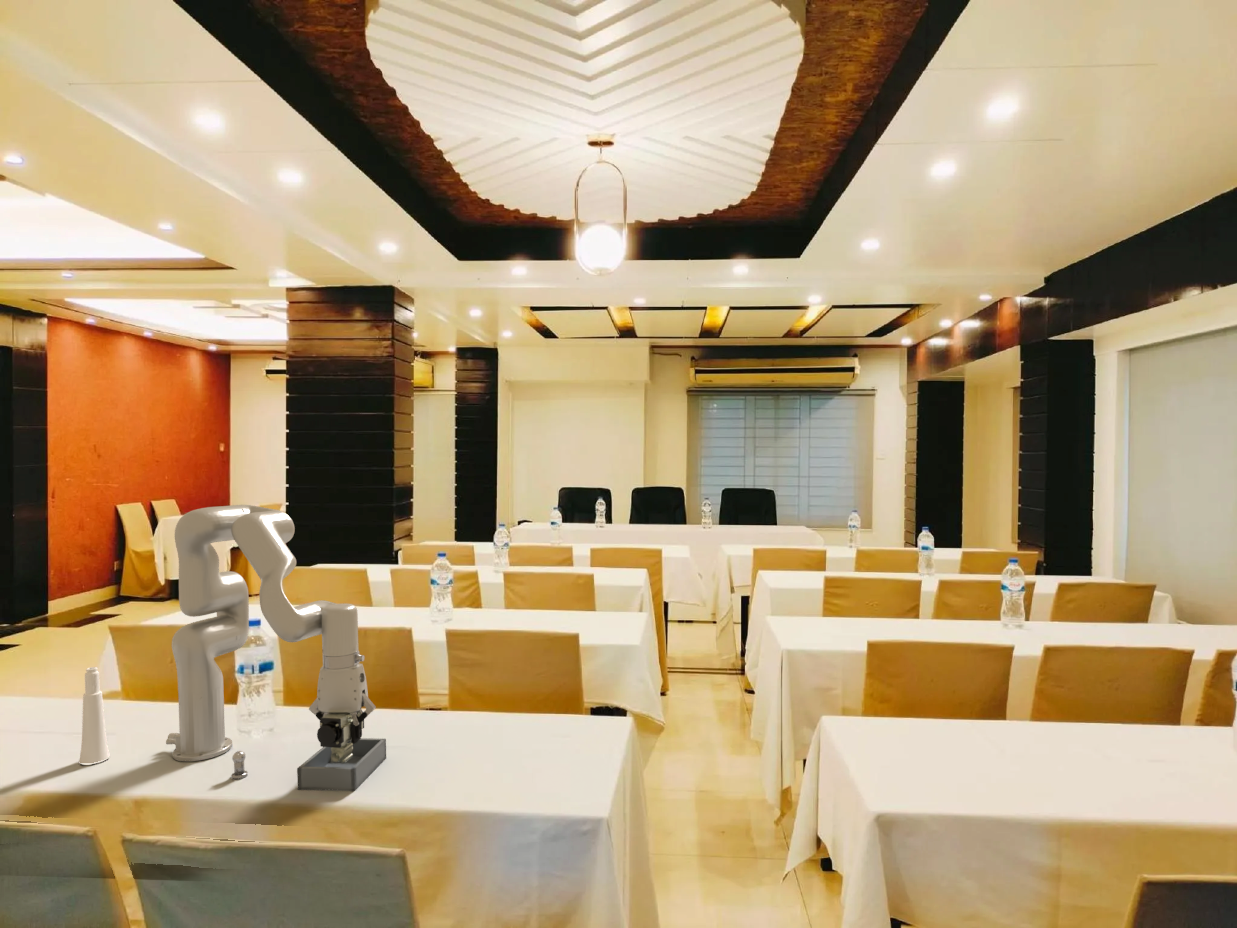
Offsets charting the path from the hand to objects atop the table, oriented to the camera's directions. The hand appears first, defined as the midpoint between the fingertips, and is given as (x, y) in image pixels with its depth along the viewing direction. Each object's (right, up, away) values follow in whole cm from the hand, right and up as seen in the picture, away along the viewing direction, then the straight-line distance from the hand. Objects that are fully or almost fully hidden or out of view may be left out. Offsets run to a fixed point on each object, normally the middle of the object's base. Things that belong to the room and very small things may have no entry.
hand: (343, 740), depth 164 cm
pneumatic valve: (0, -5, 0) cm, 5 cm away
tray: (0, -7, 0) cm, 7 cm away
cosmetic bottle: (-63, -9, +10) cm, 64 cm away
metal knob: (-23, -8, 0) cm, 24 cm away
